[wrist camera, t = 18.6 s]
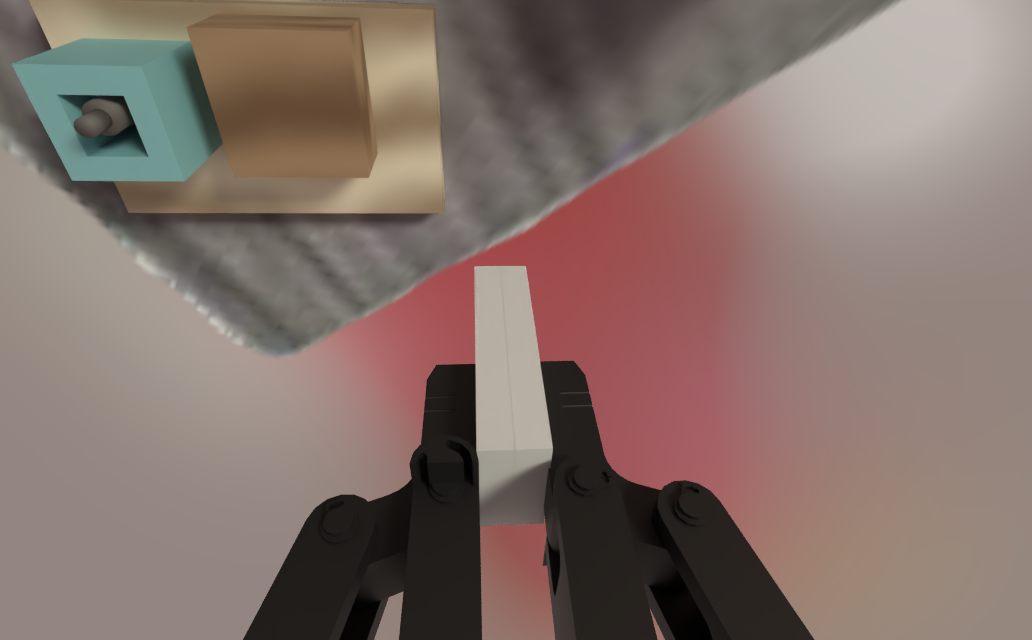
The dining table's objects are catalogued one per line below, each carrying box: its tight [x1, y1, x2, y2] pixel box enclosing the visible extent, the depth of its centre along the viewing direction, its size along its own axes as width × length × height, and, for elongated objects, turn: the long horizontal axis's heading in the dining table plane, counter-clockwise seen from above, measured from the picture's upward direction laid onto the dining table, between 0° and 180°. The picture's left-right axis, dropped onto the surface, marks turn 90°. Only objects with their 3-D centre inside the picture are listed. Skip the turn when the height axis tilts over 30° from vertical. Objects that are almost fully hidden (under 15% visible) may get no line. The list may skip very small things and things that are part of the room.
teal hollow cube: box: [12, 38, 223, 181], centre depth 30 cm, size 6×6×6 cm
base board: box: [29, 0, 445, 213], centre depth 32 cm, size 13×22×10 cm, turn 89°
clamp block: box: [186, 14, 378, 178], centre depth 31 cm, size 8×8×4 cm
